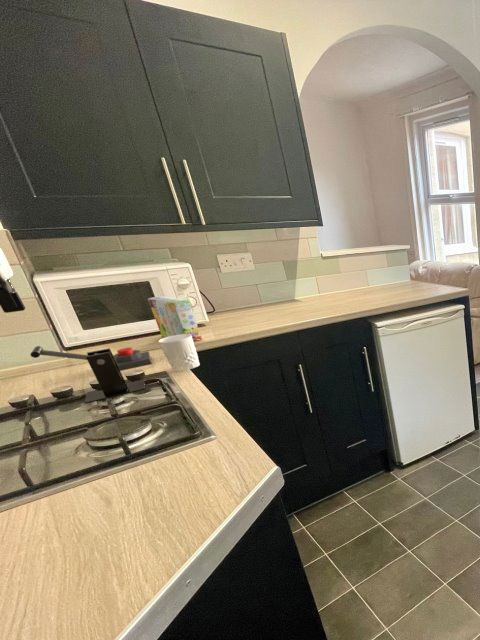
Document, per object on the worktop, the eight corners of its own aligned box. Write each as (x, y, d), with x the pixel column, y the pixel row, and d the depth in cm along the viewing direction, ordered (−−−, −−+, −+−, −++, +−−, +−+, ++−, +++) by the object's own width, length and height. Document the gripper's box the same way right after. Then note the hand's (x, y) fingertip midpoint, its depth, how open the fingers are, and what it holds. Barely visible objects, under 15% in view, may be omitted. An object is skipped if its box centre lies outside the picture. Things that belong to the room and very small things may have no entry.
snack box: (204, 339, 156) (189, 299, 149) (187, 343, 151) (171, 302, 145) (177, 332, 166) (162, 294, 160) (160, 336, 161) (144, 298, 155)
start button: (119, 357, 128) (116, 352, 128) (119, 354, 131) (117, 349, 130) (134, 354, 130) (132, 349, 130) (134, 352, 133) (131, 346, 132)
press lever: (29, 359, 97) (31, 349, 97) (33, 353, 101) (35, 343, 101) (107, 367, 106) (109, 358, 106) (108, 361, 111) (109, 352, 110)
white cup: (187, 375, 122) (174, 342, 118) (164, 374, 123) (151, 342, 119) (209, 365, 129) (197, 334, 125) (187, 364, 131) (175, 333, 126)
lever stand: (86, 407, 105) (63, 363, 100) (88, 396, 111) (67, 354, 106) (147, 392, 112) (128, 350, 107) (146, 382, 118) (128, 343, 113)
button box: (110, 374, 126) (104, 361, 124) (111, 365, 133) (105, 354, 131) (152, 365, 132) (147, 353, 130) (150, 357, 139) (146, 346, 137)
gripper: (-48, 226, 91) (-2, 309, 99) (-72, 227, 81) (-17, 320, 88) (2, 223, 96) (43, 303, 103) (-14, 224, 85) (33, 313, 92)
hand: (15, 310), depth 96 cm, fingers closed
